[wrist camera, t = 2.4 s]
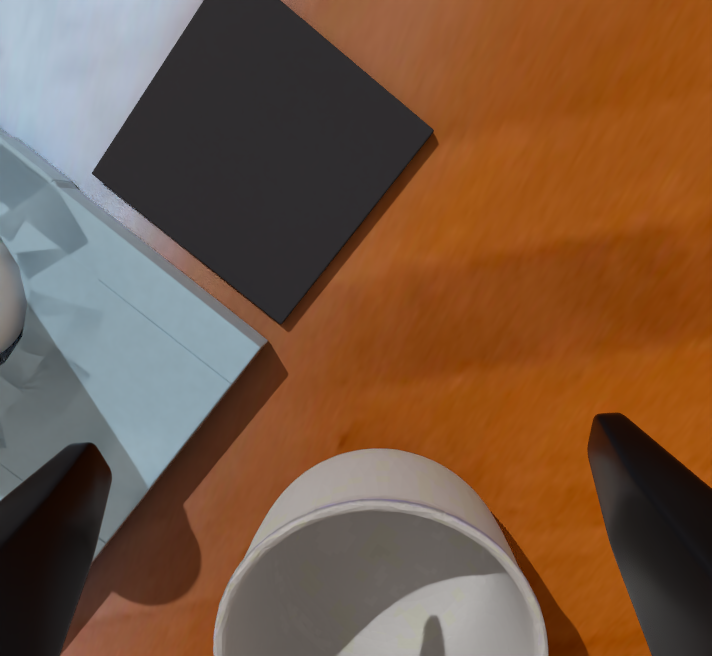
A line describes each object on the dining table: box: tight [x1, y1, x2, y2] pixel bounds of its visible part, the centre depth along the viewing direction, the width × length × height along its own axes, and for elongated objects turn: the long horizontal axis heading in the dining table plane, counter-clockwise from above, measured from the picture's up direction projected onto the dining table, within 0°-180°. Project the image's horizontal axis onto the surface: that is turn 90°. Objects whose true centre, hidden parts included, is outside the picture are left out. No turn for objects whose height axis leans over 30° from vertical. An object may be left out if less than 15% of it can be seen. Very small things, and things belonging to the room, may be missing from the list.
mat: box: [92, 0, 434, 324], centre depth 22 cm, size 10×10×1 cm
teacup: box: [213, 449, 548, 656], centre depth 21 cm, size 14×11×8 cm
